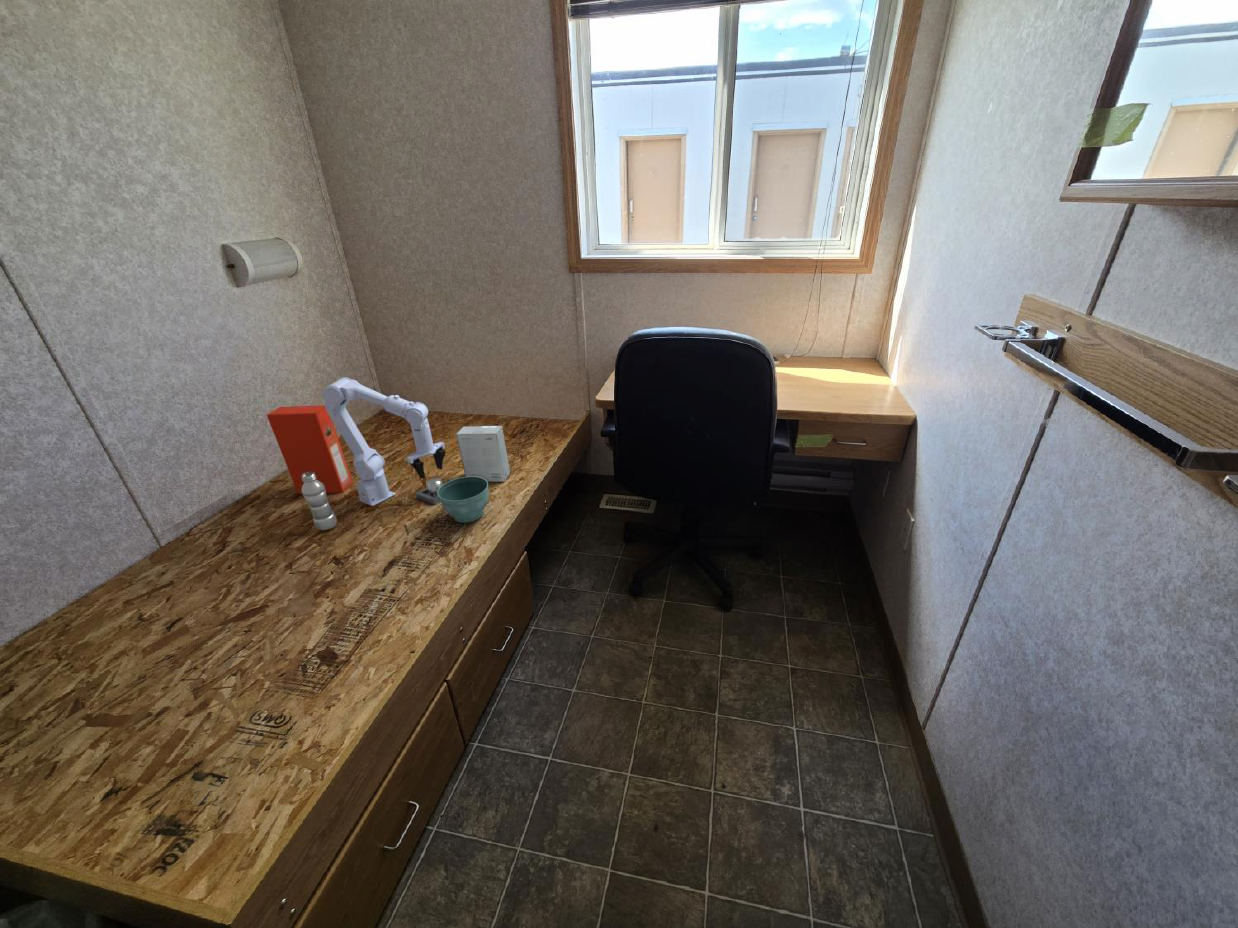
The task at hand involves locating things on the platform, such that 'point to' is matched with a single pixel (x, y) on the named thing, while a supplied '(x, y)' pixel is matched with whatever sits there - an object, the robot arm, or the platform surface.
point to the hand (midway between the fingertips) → (431, 473)
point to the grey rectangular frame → (427, 496)
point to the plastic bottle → (318, 502)
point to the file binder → (311, 446)
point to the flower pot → (464, 498)
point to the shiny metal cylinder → (434, 486)
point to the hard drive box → (484, 452)
